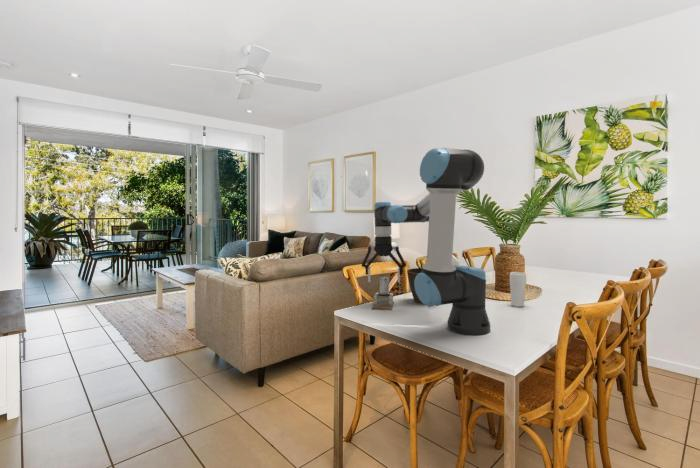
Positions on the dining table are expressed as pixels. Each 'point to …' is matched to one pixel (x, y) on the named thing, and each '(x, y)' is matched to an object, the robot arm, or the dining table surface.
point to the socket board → (383, 302)
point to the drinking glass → (517, 288)
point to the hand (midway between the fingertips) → (384, 282)
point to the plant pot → (411, 277)
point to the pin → (384, 286)
